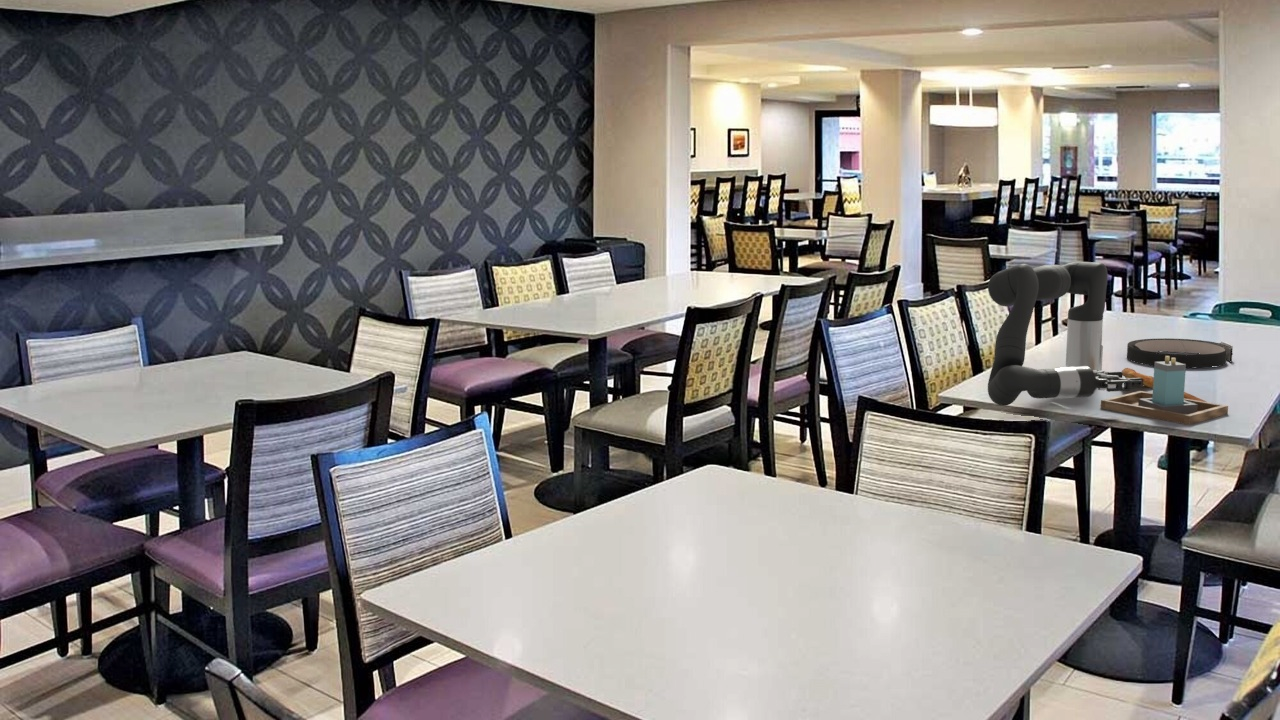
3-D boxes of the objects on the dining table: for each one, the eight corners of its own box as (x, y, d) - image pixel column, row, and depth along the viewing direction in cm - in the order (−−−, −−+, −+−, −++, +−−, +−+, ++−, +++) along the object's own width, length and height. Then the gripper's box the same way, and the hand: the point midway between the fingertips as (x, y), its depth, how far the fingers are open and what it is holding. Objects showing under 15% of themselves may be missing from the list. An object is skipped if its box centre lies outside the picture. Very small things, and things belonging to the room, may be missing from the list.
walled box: (1139, 400, 296) (1140, 390, 296) (1227, 415, 278) (1228, 405, 277) (1100, 409, 287) (1101, 400, 286) (1188, 426, 268) (1189, 416, 268)
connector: (1151, 409, 283) (1154, 356, 281) (1169, 408, 284) (1173, 354, 282) (1164, 414, 278) (1167, 359, 276) (1182, 412, 279) (1186, 358, 277)
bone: (1218, 413, 283) (1203, 379, 281) (1187, 429, 284) (1172, 395, 282) (1151, 382, 316) (1138, 351, 313) (1124, 396, 316) (1110, 365, 314)
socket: (1138, 408, 285) (1138, 398, 285) (1172, 406, 287) (1173, 396, 286) (1161, 416, 276) (1162, 406, 275) (1197, 414, 277) (1197, 404, 277)
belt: (1252, 368, 336) (1253, 351, 335) (1150, 370, 336) (1151, 353, 335) (1205, 351, 365) (1206, 335, 364) (1111, 353, 365) (1112, 337, 364)
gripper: (1087, 372, 267) (1150, 369, 270) (1055, 361, 281) (1115, 358, 284) (1086, 403, 269) (1148, 400, 272) (1054, 391, 283) (1113, 388, 285)
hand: (1131, 379), depth 278 cm, fingers open, 8 cm apart
